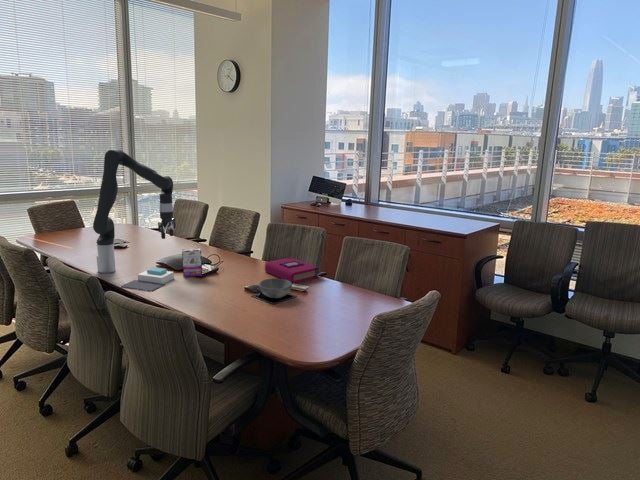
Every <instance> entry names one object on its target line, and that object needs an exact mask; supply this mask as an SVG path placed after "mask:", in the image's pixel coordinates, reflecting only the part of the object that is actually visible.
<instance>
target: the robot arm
mask: <svg viewBox="0 0 640 480" xmlns="http://www.w3.org/2000/svg"><path fill="white" fill-rule="evenodd" d="M119 166H123V167H125V168H128V169H130V170H131V171H132V172H134V174H136V175H138V177H141V178H142V179H144V180H147V181H149V182H150V183H152V184H153V185H154V186H155V187H157V188H159V189H161V192H160V194H159V218H160V219H161V221H158V222H157V229H158V231H157V232H158V233H160V235H161V239H162V240H165V239H166V231H167V229H169V230H168V231H169V237H173V236H174V230H175V229H176V218H174V206H173V190H174V181H173V179H172V177H170V176H168V175H166V176H165V175H164V176H163V175H160V174H159V173H158V172H157V171H156V170H154V169H152V168H151V167H148V166H147V165H145V164H143V163H141V162H139V161H137V160H136V159H134V158H133V157H131V155H129V154H127V153H126V152H125V151H123V150H121V149H120V148H112V149H109V150H107V151H106V152H105V154H104V160H103V171H102V179H101V183H100V185H101V186H100V189H99V194H98V195H99V196H98V200H97V201H98V202H97V209H96V212H95V216H94V220H93V223H92V228H93V230H94V232H95V234H98V237H97V239H96V249H97V256H96V265H97V272H99V273H102V274H109V273H113V272H116V270H117V269H116V259H115V243H114V242H115V241H114V240H115V236H116V235H115V234H116V233H115V223H114V220H113V219H112V218H111V217H109V215H110V211H112V208H113V207H114V205H115V202H116V201H117V196H118V189H119V185H118V179H117V172H118V167H119Z"/></svg>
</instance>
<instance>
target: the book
mask: <svg viewBox="0 0 640 480" xmlns="http://www.w3.org/2000/svg"><path fill="white" fill-rule="evenodd" d="M264 271H265V273H267V274H269V275H271V276H273V277H277V278H278V279H284V280H288V281H290V282H291V283H292V284H293V283H295V284H298V283H303V282H306V281H311V280H316V279H319V275H317V274H315V272H316V271H319V267H318V266H316V265H313V264H310V263H309V262H308V263H307V262H304V261H302V260H300V259H296V258H294V257H287V258H281V259H276V260H272V261H271V260H270V261H267V262H265V265H264Z"/></svg>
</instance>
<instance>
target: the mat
mask: <svg viewBox="0 0 640 480" xmlns="http://www.w3.org/2000/svg"><path fill="white" fill-rule="evenodd" d="M165 284H166V283H164V284H161V283H154V282H146V281H139V280H138V279H134V280H132V281H131V280H130V281H129V282H127V283H125V284H123V285H120V287H121V288H122V289H123V288H124V289H131V290H137V289H138V290H137V291H143V290H147V291H146V292H150V291H152V292H154V291H155V289H156V290H158V289H160V288H162V287H164V286H165ZM161 286H162V287H161ZM159 287H160V288H159ZM157 288H158V289H157ZM153 290H154V291H153Z"/></svg>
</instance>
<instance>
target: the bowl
mask: <svg viewBox="0 0 640 480" xmlns="http://www.w3.org/2000/svg"><path fill="white" fill-rule="evenodd" d="M292 286H293V283H291V282H290V281H288V280H284V279H281V278H278V277H277V278H267V279H266V278H265V279H263V280H261V281H259V283H258V288H259V290H260V292H261V293H262V295H264V296H265V297H268V298H271V299H281V298H283V297H285V296H286V295H288V294H289V292H290V291H291V289H292Z"/></svg>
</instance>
